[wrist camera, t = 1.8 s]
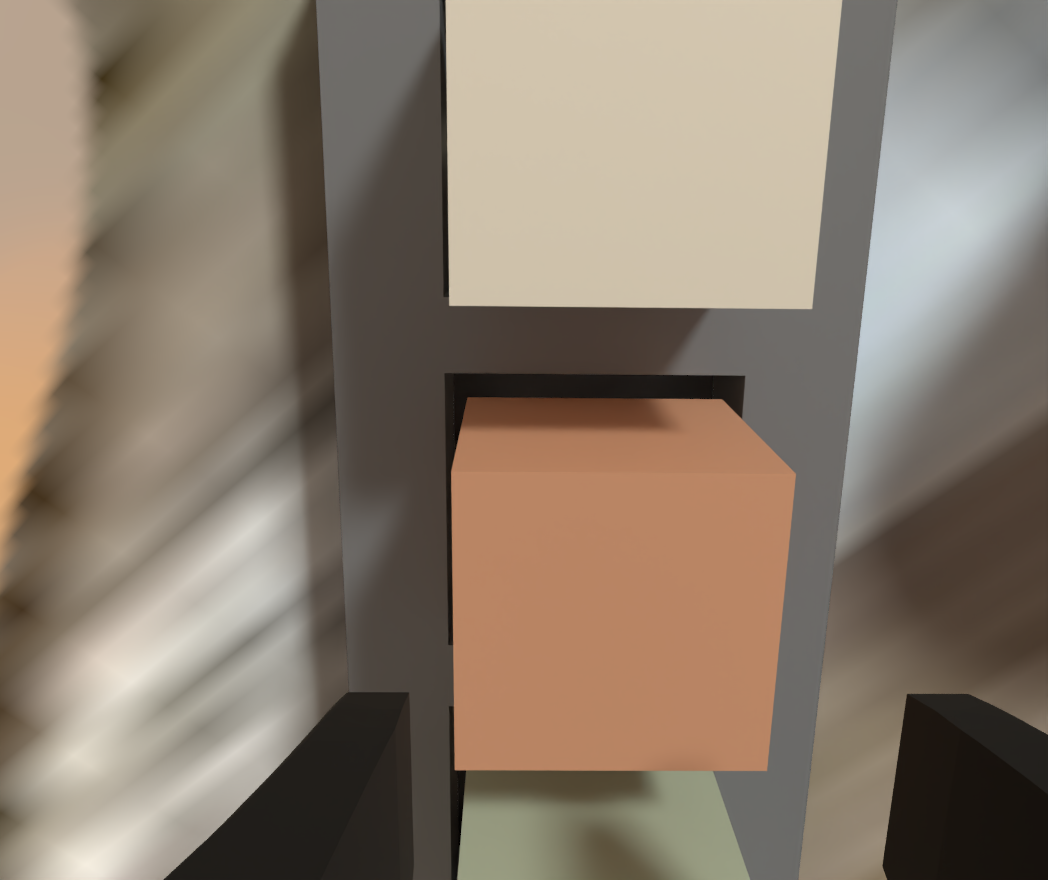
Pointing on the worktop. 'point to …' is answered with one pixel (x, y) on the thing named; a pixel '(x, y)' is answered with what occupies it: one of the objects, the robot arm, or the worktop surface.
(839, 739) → the worktop surface
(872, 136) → the compartment tray
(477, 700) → the block terracotta
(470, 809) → the block sage
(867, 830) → the worktop surface
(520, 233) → the block cream
